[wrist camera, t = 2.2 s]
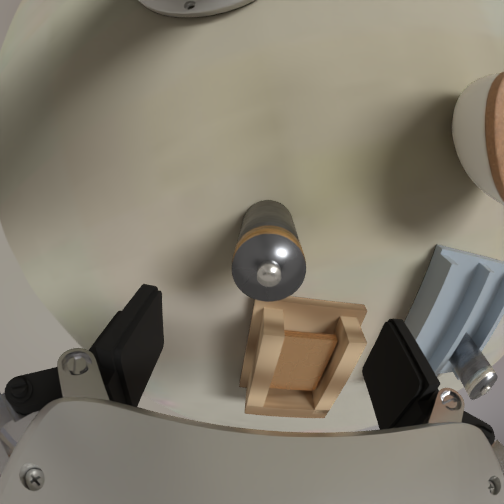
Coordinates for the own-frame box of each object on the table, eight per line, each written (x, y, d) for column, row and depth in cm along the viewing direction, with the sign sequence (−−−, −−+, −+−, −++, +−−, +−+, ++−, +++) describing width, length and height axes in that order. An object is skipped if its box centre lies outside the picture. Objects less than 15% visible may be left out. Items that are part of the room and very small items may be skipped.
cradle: (256, 291, 23) (254, 324, 19) (364, 304, 24) (379, 336, 19) (240, 380, 28) (236, 412, 24) (326, 387, 28) (331, 417, 24)
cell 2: (454, 332, 24) (487, 380, 16) (473, 331, 24) (505, 376, 16) (439, 357, 25) (466, 406, 18) (458, 355, 25) (485, 400, 18)
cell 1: (246, 196, 20) (234, 233, 13) (297, 204, 20) (316, 246, 13) (239, 244, 22) (226, 302, 14) (288, 251, 22) (298, 312, 14)
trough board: (436, 244, 21) (453, 258, 18) (507, 262, 21) (522, 274, 18) (377, 371, 27) (383, 390, 24) (451, 366, 27) (460, 381, 25)
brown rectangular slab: (284, 329, 22) (284, 336, 21) (335, 334, 22) (337, 340, 22) (268, 381, 25) (268, 387, 24) (313, 384, 25) (314, 390, 24)
